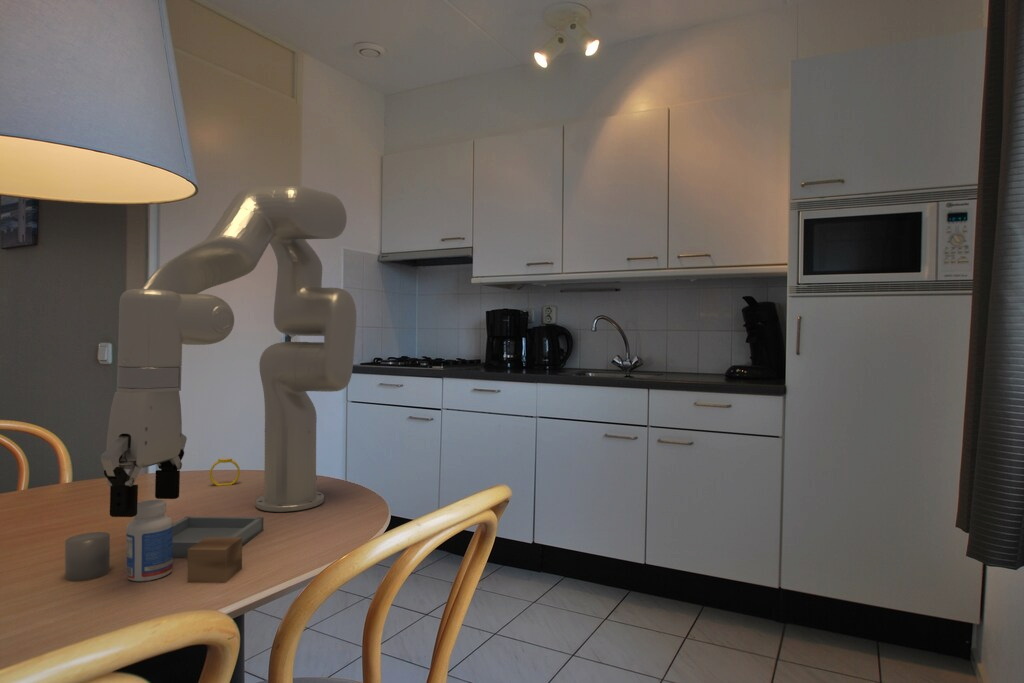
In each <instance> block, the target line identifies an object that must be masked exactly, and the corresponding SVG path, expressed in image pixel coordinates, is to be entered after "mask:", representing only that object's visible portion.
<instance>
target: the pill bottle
mask: <svg viewBox="0 0 1024 683" xmlns="http://www.w3.org/2000/svg"><path fill="white" fill-rule="evenodd" d="M166 513H167V501H166V500H165V499H150V500H143V501H140V502H138V503H137V515H136V516H134V517H133V518H134V519H133V520H130V521H129V522H128V523H127V526H126V576H127V579H128V580H130V581H132V582H149V581H153V580H157V579H158V580H159V579H160V578H163V577H165V576H168V575H169V574H170V573H172V571H173V566H174V563H173V562H174V561H173V559H174V557H173V546H172V524H173V521H172V520H173V519H172V518H171V517H169V516H167V515H165V514H166Z"/></svg>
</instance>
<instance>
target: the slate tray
mask: <svg viewBox="0 0 1024 683" xmlns="http://www.w3.org/2000/svg"><path fill="white" fill-rule="evenodd" d="M262 532H264V517H263V516H262V517H261V516H258V517H257V516H251V517H250V516H185V517H183V518H181V519H180V520H178V521H175V522H173V523H172V546H173V558H182V559H183V558H185V559H188V549H189V548H191V547H192V546H194V545H195V544H197V543H198V542H200V541H202V540H203V539H205V538H206V537H242V547H243V546H245V545H247V544H248V543H249V542H250V541H251V540H253V539H254V538H255V537H257V536H258V535H259V534H261V533H262Z"/></svg>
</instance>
